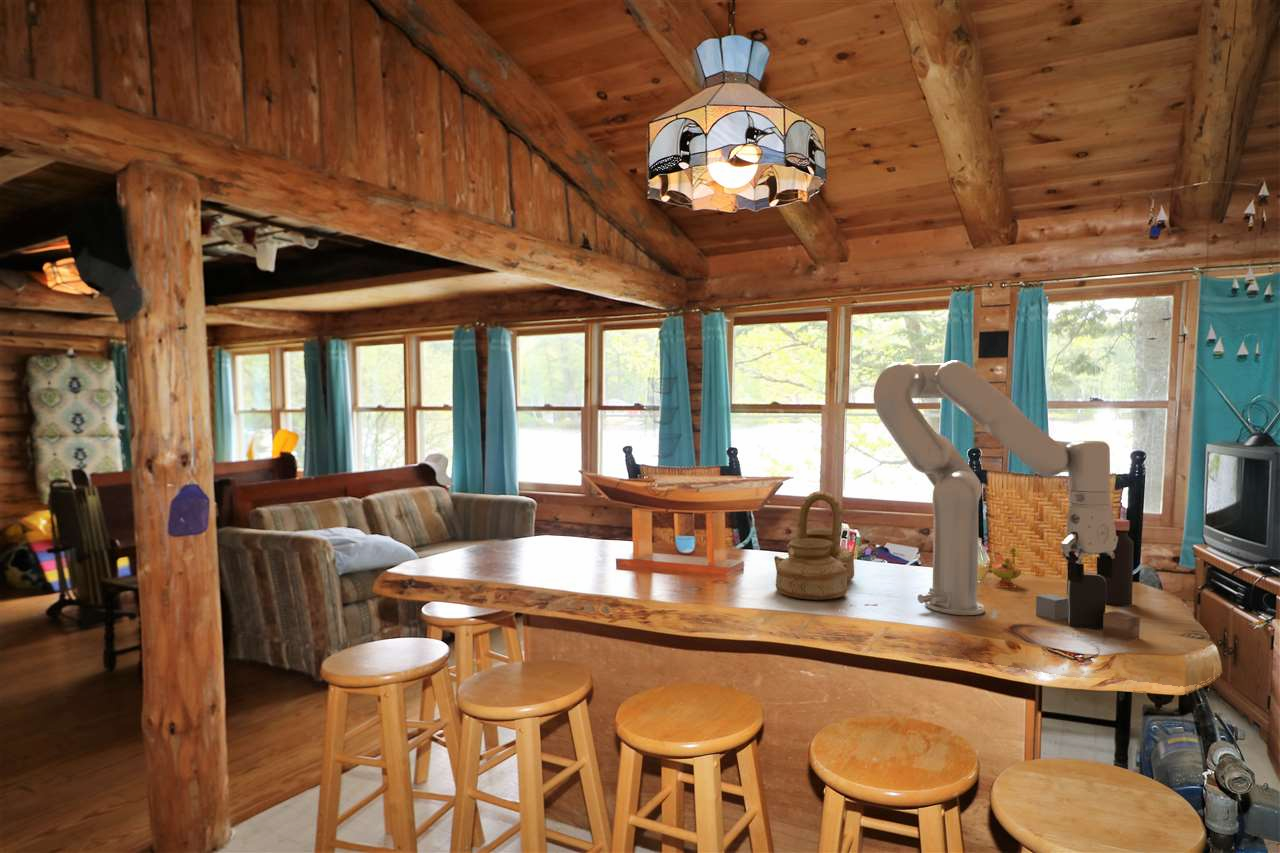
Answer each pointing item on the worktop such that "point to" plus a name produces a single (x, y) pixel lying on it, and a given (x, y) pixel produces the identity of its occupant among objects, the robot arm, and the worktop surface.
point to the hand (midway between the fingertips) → (1090, 578)
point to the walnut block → (1121, 625)
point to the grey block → (1052, 606)
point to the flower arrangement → (1005, 569)
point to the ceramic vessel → (816, 557)
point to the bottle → (1121, 568)
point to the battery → (1087, 601)
